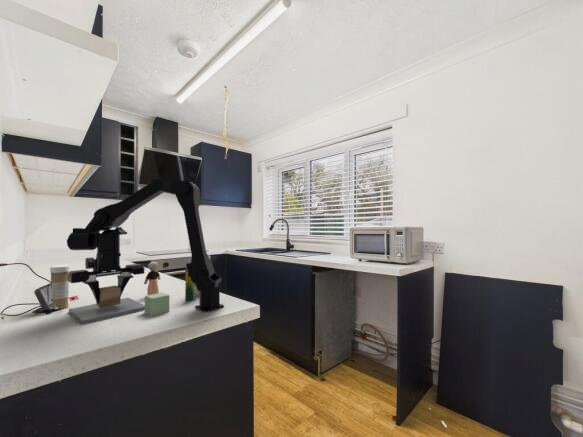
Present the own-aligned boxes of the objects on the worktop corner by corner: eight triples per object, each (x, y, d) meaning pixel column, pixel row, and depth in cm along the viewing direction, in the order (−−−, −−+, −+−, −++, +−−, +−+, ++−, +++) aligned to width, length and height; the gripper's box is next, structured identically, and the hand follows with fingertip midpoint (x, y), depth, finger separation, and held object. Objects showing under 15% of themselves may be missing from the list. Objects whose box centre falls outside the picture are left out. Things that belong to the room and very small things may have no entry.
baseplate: (146, 309, 82) (146, 306, 82) (82, 324, 70) (82, 320, 70) (128, 300, 92) (128, 297, 92) (68, 312, 80) (68, 309, 80)
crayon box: (193, 300, 91) (193, 266, 91) (184, 300, 91) (184, 266, 91) (201, 295, 98) (201, 263, 99) (193, 295, 98) (193, 263, 99)
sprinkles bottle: (54, 306, 86) (54, 265, 86) (71, 305, 87) (71, 264, 88) (46, 311, 82) (47, 267, 82) (64, 309, 83) (65, 266, 83)
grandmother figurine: (152, 299, 94) (152, 263, 94) (142, 299, 94) (142, 263, 94) (163, 293, 101) (163, 260, 102) (153, 293, 102) (153, 260, 102)
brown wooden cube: (120, 304, 81) (120, 287, 81) (100, 308, 77) (101, 290, 78) (115, 301, 85) (115, 285, 85) (96, 304, 81) (96, 288, 81)
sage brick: (169, 311, 80) (169, 294, 80) (151, 316, 76) (151, 298, 76) (161, 308, 83) (161, 292, 83) (144, 312, 79) (144, 295, 79)
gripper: (132, 246, 94) (132, 291, 93) (63, 250, 80) (63, 303, 79) (145, 247, 87) (145, 296, 86) (72, 252, 72) (71, 310, 72)
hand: (108, 300), depth 81 cm, fingers closed on brown wooden cube, 5 cm apart
